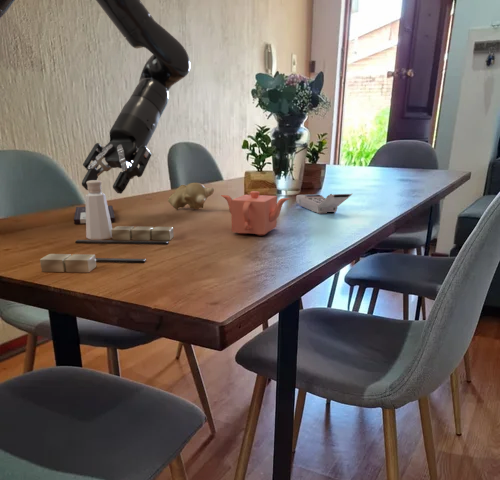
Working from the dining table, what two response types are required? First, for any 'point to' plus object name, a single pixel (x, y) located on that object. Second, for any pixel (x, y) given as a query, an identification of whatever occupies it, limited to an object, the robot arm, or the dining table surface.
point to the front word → (77, 262)
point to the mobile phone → (321, 202)
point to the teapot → (254, 213)
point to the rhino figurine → (190, 196)
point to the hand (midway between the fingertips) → (100, 189)
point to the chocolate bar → (81, 215)
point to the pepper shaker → (97, 213)
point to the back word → (136, 235)
